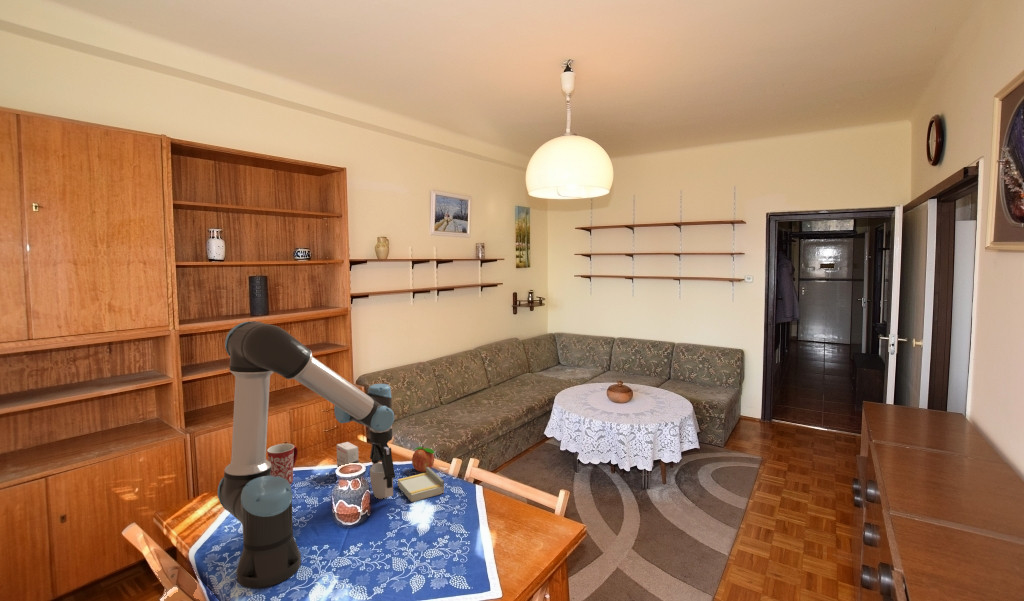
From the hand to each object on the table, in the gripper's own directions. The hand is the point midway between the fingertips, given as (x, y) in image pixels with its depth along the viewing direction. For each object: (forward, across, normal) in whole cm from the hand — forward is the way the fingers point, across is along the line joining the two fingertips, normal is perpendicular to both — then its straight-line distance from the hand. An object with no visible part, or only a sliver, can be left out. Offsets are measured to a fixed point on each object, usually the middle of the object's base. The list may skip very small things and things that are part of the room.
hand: (382, 488), depth 170 cm
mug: (+2, +30, +27) cm, 41 cm away
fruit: (+3, +12, -20) cm, 23 cm away
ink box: (+3, +23, +6) cm, 24 cm away
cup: (+3, 0, 0) cm, 3 cm away
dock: (+3, -3, -13) cm, 13 cm away
